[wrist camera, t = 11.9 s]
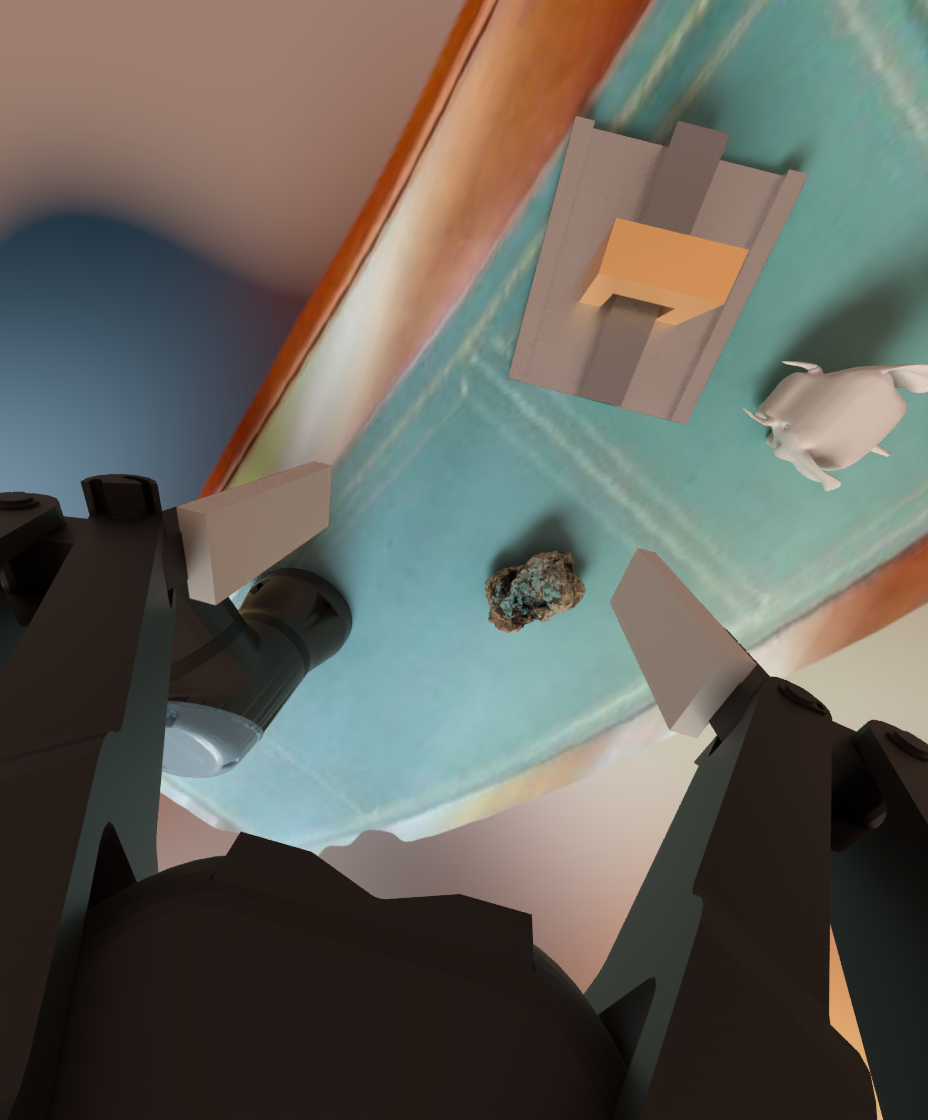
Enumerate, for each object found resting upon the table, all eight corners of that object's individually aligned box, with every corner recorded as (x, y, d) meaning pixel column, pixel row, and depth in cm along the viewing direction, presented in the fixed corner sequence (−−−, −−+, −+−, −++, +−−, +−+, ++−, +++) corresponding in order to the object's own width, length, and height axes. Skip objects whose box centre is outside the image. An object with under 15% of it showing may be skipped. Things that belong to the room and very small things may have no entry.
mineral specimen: (562, 532, 41) (543, 565, 35) (598, 593, 43) (585, 635, 37) (485, 563, 49) (458, 595, 43) (518, 614, 51) (497, 651, 45)
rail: (508, 378, 36) (507, 376, 32) (572, 130, 28) (580, 96, 25) (678, 423, 35) (695, 425, 32) (793, 185, 27) (829, 158, 24)
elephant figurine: (787, 333, 31) (880, 312, 23) (888, 401, 32) (1010, 403, 24) (706, 432, 35) (762, 442, 27) (798, 489, 37) (878, 515, 29)
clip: (579, 301, 32) (598, 273, 24) (591, 260, 30) (616, 217, 23) (675, 325, 31) (723, 304, 24) (692, 284, 30) (749, 249, 23)
